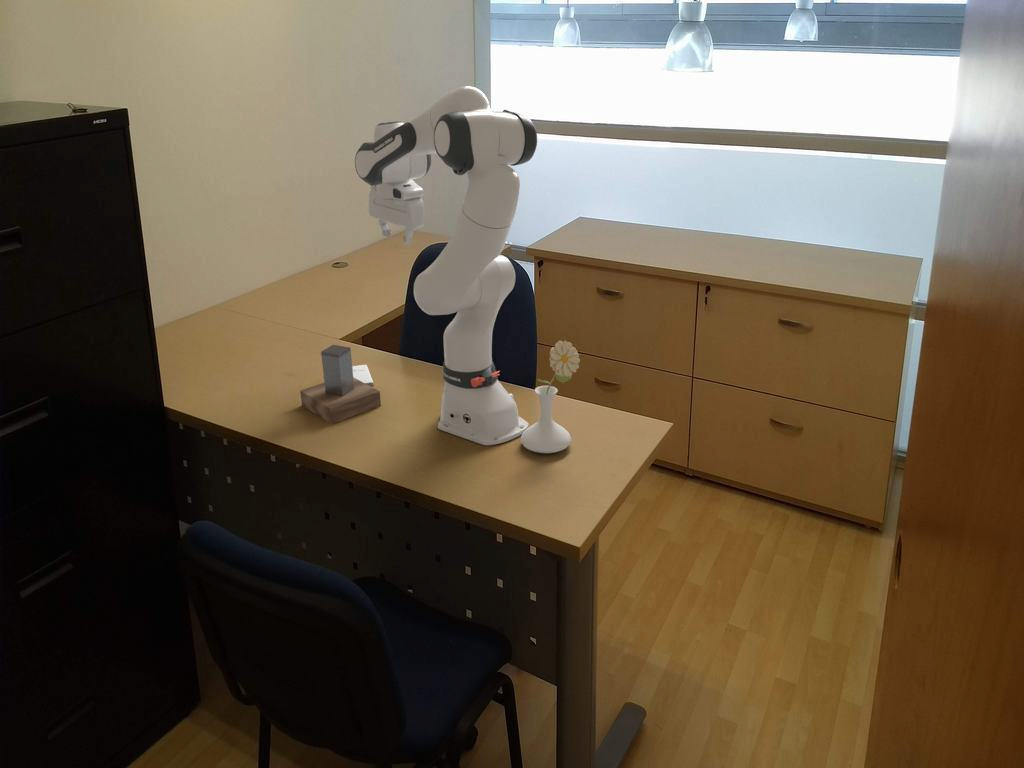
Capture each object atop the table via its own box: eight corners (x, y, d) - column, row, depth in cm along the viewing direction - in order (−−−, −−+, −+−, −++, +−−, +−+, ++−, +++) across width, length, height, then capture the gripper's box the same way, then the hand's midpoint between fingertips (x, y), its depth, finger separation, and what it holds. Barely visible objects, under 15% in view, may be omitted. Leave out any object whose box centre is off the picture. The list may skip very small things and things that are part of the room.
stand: (380, 405, 213) (379, 391, 211) (332, 423, 204) (330, 408, 203) (349, 388, 222) (348, 374, 221) (301, 405, 214) (300, 390, 212)
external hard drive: (342, 391, 222) (336, 373, 233) (374, 387, 224) (367, 369, 235) (341, 386, 221) (336, 367, 232) (373, 382, 224) (366, 363, 234)
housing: (354, 388, 213) (350, 347, 208) (342, 396, 209) (338, 354, 204) (337, 385, 215) (333, 344, 210) (325, 393, 211) (321, 351, 206)
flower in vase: (529, 461, 187) (529, 355, 177) (514, 437, 197) (513, 336, 187) (585, 452, 191) (588, 348, 180) (567, 429, 200) (570, 329, 190)
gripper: (360, 182, 225) (364, 234, 231) (407, 194, 211) (410, 249, 217) (380, 179, 229) (384, 230, 235) (427, 190, 215) (430, 244, 221)
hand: (397, 239), depth 226 cm, fingers open, 8 cm apart
